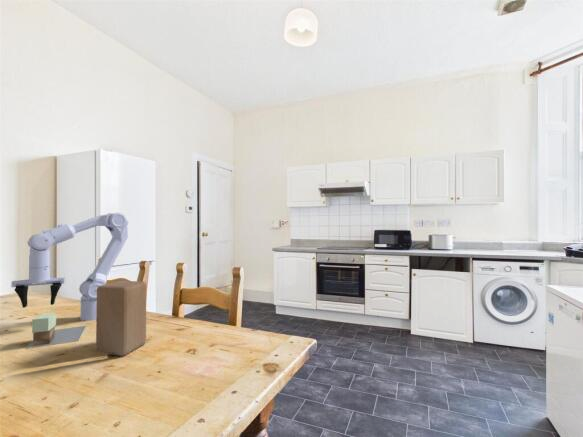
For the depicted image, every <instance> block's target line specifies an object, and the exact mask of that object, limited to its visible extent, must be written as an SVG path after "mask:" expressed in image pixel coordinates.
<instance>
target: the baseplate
mask: <svg viewBox="0 0 583 437" xmlns="http://www.w3.org/2000/svg"><path fill="white" fill-rule="evenodd" d="M86 327H87V325H82V326H74V327H65V328H57V329H55V337H54V338H53V340H52V341H51V343H50V344H44V345H37V346H33V340H31V342H29V344H28V345H27V346H26V347H25V349H24V350H27V349H28V350H29V349H33V348H40V347H41V348H42V347H49V346H53V345H55V346H56V345H62V344H68V343H76V342H79V340H80V339H81V336H82V334H83V333H84V331H85V329H86Z"/></svg>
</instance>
